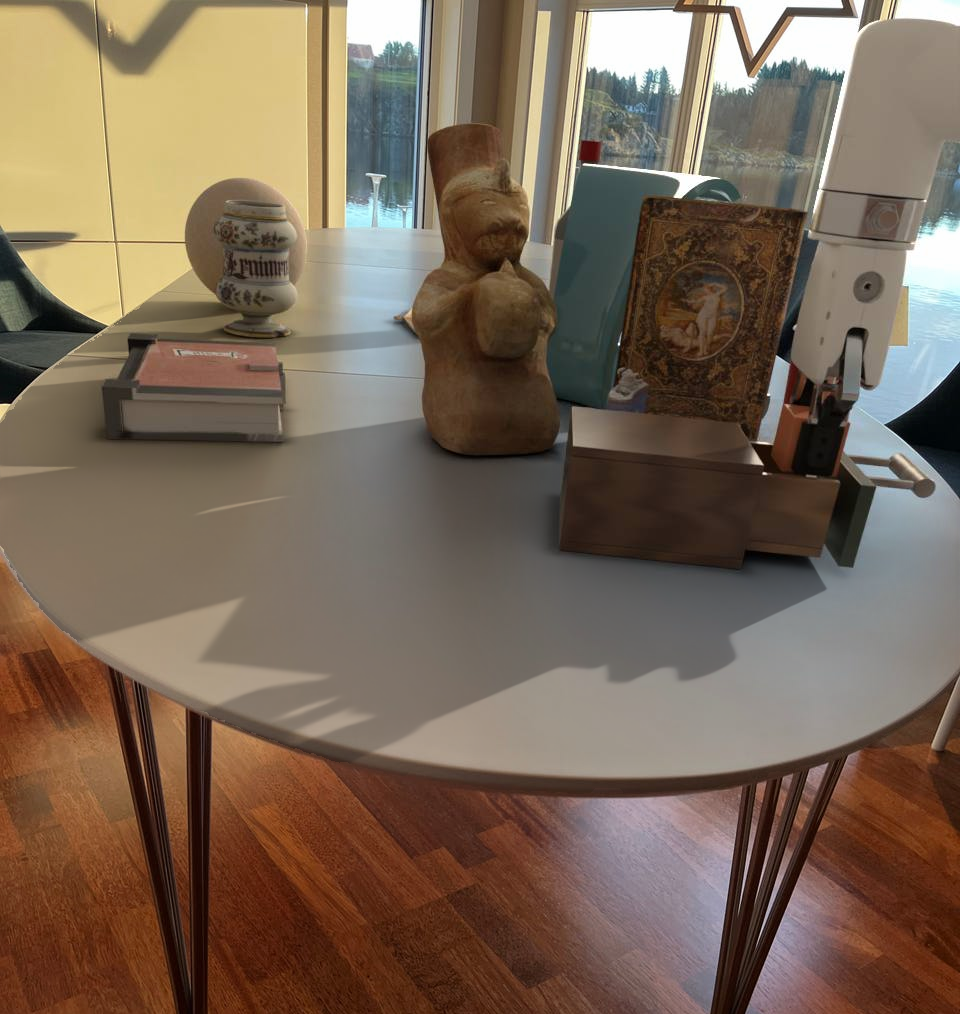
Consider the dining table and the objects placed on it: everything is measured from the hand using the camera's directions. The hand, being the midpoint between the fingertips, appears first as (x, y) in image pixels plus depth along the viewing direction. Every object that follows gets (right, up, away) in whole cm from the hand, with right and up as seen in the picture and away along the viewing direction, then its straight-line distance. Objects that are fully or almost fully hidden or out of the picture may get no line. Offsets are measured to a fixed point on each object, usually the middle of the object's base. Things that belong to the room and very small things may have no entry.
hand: (804, 462), depth 77 cm
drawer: (0, -6, +3) cm, 7 cm away
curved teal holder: (-4, +16, +45) cm, 48 cm away
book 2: (-4, +7, +28) cm, 30 cm away
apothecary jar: (-61, +32, +67) cm, 96 cm away
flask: (-13, +1, +16) cm, 21 cm away
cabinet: (-12, -5, +4) cm, 14 cm away
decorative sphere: (-67, +43, +86) cm, 117 cm away
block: (0, 0, 0) cm, 0 cm away
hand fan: (-34, +40, +85) cm, 100 cm away
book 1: (-57, +11, +28) cm, 64 cm away
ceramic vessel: (-27, +8, +27) cm, 40 cm away
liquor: (-10, +44, +98) cm, 108 cm away
